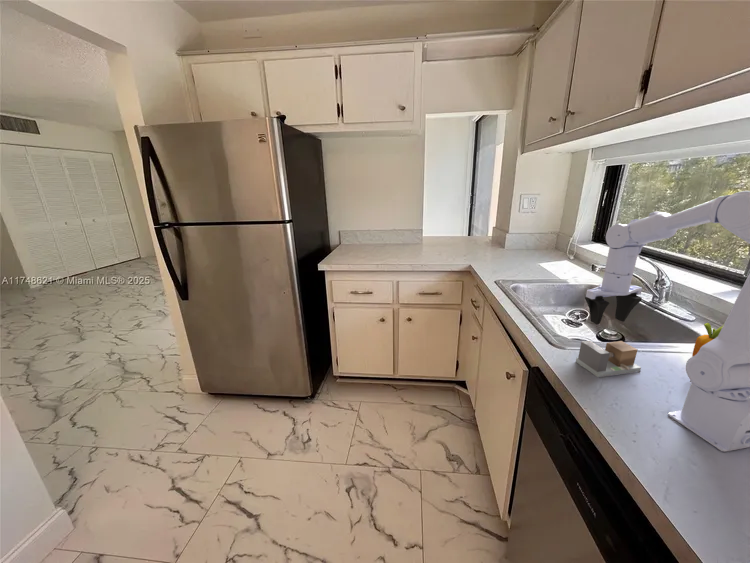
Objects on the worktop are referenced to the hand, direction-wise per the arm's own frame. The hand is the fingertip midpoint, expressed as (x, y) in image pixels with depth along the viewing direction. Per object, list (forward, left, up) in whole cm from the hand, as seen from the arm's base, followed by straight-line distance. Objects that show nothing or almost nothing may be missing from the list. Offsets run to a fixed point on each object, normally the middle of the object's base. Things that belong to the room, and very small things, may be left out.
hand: (607, 321), depth 82 cm
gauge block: (-6, +1, -9) cm, 11 cm away
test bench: (-5, +3, -10) cm, 12 cm away
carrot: (-14, -13, -10) cm, 22 cm away
